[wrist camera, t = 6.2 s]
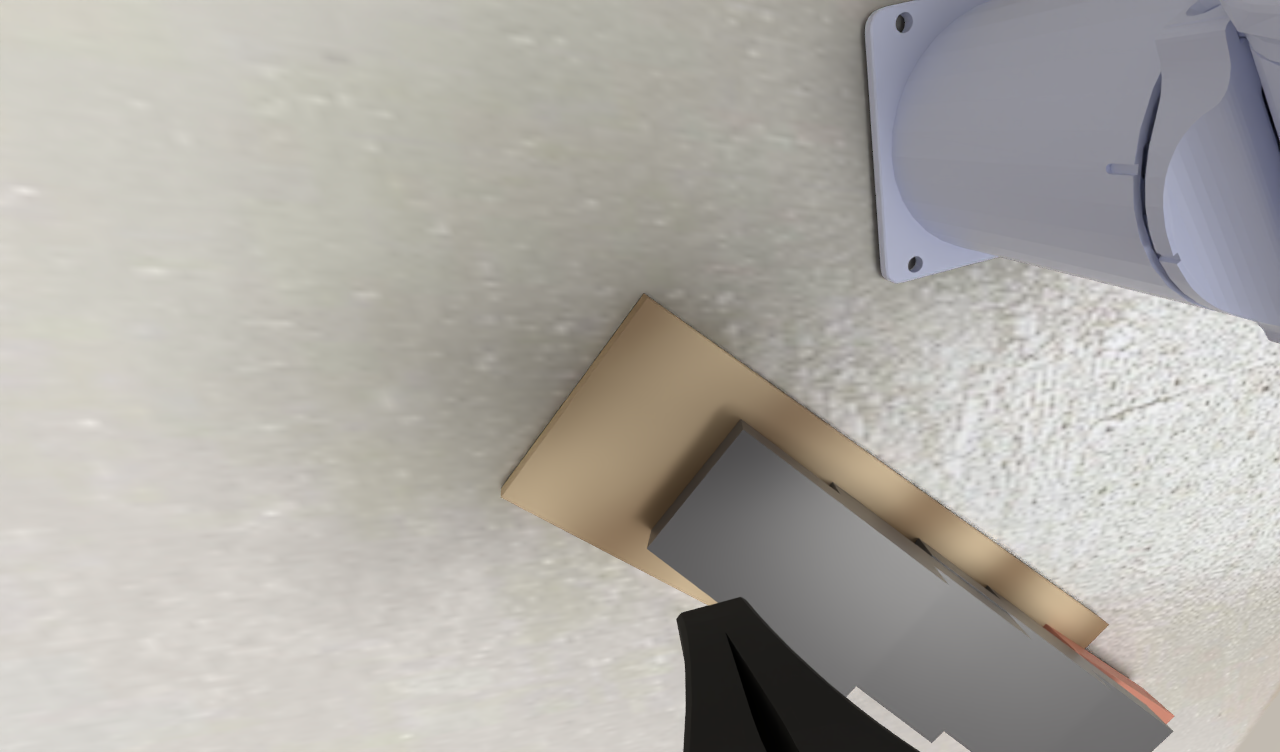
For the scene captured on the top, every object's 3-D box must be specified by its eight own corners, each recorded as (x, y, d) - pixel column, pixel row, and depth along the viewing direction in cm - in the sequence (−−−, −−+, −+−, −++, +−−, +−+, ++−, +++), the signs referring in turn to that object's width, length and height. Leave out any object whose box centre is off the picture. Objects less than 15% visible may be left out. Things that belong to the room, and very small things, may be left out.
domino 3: (918, 537, 25) (1086, 664, 25) (834, 631, 26) (996, 754, 26) (932, 555, 23) (1112, 690, 23) (842, 654, 24) (1014, 784, 24)
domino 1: (740, 418, 22) (932, 564, 22) (651, 530, 22) (834, 669, 22) (743, 429, 20) (949, 586, 20) (646, 548, 21) (844, 698, 21)
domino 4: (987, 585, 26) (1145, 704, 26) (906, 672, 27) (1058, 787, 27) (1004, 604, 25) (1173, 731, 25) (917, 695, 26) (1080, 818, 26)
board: (1097, 615, 29) (1108, 624, 29) (975, 737, 30) (984, 748, 30) (643, 293, 20) (647, 297, 20) (501, 488, 22) (501, 497, 21)
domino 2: (832, 481, 23) (1010, 616, 23) (745, 583, 24) (917, 712, 24) (841, 496, 22) (1032, 640, 22) (748, 605, 22) (931, 743, 22)
